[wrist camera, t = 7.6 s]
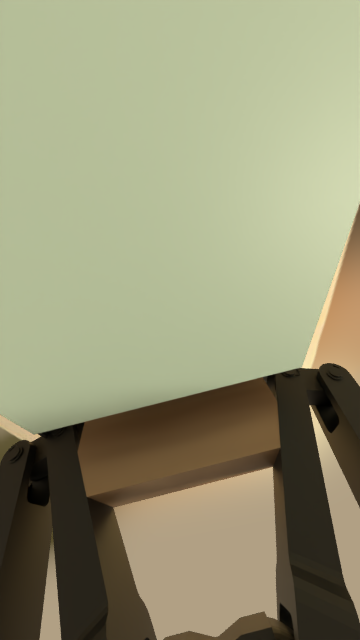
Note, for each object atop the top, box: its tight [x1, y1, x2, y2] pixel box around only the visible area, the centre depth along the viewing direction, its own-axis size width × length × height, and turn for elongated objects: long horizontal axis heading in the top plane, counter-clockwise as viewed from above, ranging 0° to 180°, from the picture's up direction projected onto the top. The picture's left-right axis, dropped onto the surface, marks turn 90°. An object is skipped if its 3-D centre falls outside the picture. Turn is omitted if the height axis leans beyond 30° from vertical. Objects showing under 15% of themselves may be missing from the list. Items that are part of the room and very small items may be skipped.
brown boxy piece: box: [77, 377, 281, 507], centre depth 12 cm, size 4×9×11 cm, turn 101°
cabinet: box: [0, 0, 360, 434], centre depth 11 cm, size 15×12×11 cm
